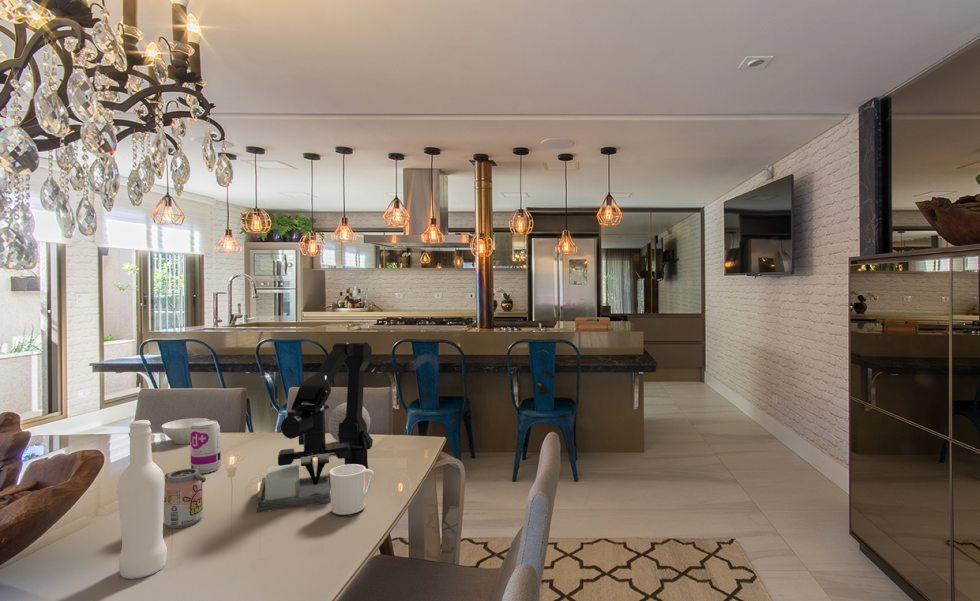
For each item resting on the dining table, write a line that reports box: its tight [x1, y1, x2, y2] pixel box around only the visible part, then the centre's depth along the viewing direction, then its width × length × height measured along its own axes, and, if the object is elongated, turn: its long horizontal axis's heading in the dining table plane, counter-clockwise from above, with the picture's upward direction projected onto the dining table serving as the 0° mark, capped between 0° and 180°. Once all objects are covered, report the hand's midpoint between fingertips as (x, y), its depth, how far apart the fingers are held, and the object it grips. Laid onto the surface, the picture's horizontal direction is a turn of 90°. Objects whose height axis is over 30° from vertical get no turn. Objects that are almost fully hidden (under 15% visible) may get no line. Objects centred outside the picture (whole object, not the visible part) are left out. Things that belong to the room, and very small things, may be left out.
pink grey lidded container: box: [163, 468, 207, 529], centre depth 128 cm, size 9×8×12 cm
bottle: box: [116, 419, 168, 580], centre depth 105 cm, size 8×8×30 cm
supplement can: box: [189, 419, 222, 475], centre depth 165 cm, size 8×8×15 cm
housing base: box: [256, 474, 332, 513], centre depth 143 cm, size 18×16×5 cm
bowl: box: [161, 417, 210, 445], centre depth 198 cm, size 16×16×7 cm
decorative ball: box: [327, 402, 371, 442], centre depth 193 cm, size 15×15×15 cm
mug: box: [328, 464, 375, 518], centre depth 133 cm, size 11×9×10 cm
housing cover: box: [265, 462, 300, 500], centre depth 142 cm, size 8×12×6 cm, turn 19°
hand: (315, 484), depth 145 cm, fingers closed
